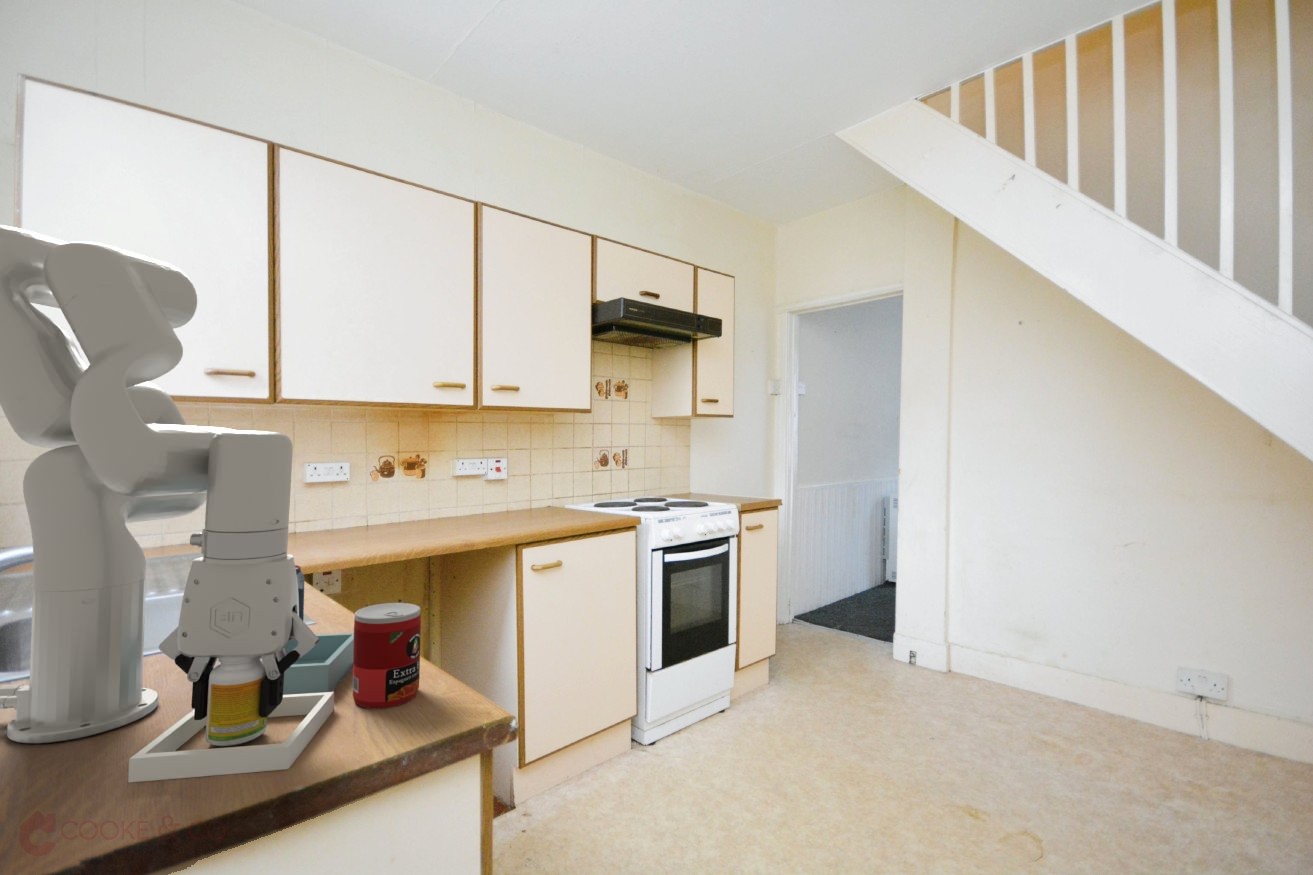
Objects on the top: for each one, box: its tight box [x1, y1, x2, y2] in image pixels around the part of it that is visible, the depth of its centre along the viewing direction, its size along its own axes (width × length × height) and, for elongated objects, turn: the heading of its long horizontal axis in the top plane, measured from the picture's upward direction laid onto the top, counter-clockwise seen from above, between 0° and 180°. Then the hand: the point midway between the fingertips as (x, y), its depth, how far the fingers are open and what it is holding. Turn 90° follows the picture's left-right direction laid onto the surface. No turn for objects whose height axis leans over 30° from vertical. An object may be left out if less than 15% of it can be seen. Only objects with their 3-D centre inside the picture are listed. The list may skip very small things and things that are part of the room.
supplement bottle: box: [205, 656, 268, 747], centre depth 65 cm, size 5×5×10 cm
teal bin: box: [214, 632, 354, 695], centre depth 82 cm, size 14×14×4 cm
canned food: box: [352, 602, 422, 710], centre depth 77 cm, size 8×8×11 cm
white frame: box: [127, 691, 335, 783], centre depth 64 cm, size 14×14×2 cm
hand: (237, 711), depth 65 cm, fingers closed on supplement bottle, 5 cm apart
